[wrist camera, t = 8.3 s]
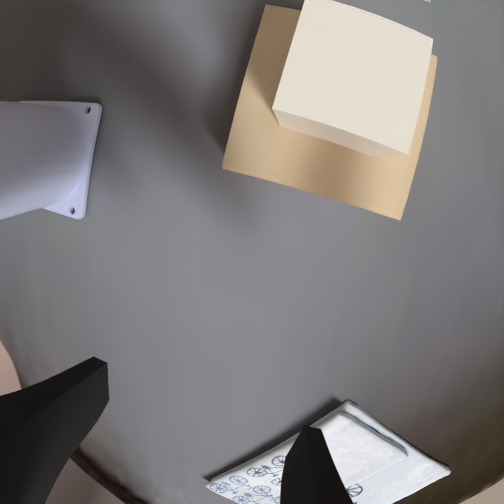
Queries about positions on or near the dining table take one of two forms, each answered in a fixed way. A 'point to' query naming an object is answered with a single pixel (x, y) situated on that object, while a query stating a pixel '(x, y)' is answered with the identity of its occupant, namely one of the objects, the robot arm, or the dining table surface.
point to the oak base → (306, 146)
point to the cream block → (353, 79)
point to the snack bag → (340, 463)
